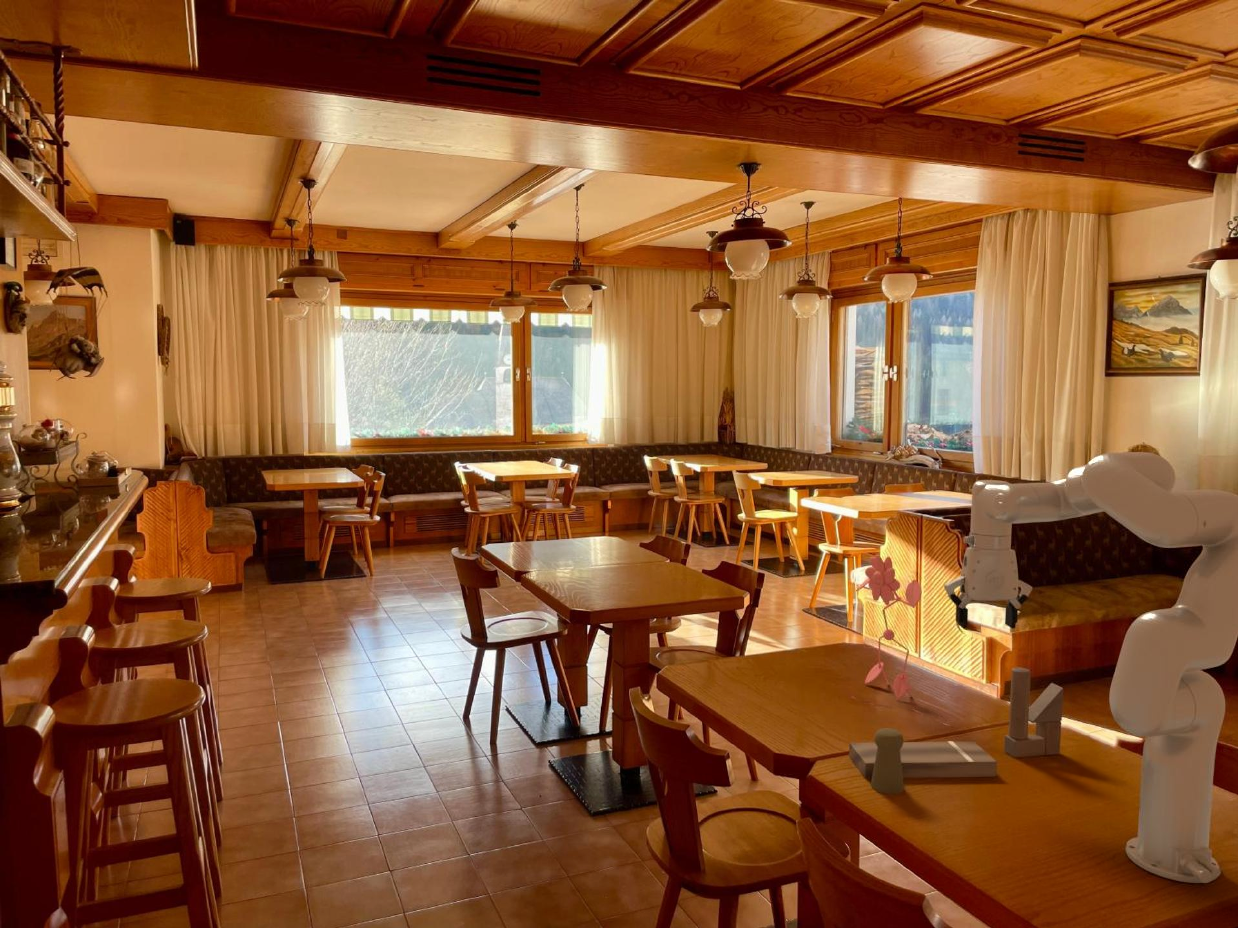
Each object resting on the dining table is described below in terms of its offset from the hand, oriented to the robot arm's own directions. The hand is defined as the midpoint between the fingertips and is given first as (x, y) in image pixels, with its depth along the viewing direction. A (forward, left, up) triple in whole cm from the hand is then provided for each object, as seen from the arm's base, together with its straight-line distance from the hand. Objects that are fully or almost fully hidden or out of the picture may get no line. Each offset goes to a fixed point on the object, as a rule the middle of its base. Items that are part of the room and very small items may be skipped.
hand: (986, 626), depth 177 cm
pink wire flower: (+41, +7, -28) cm, 50 cm away
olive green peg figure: (-11, +23, -28) cm, 38 cm away
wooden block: (+4, -13, -28) cm, 31 cm away
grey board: (-2, +13, -28) cm, 31 cm away
